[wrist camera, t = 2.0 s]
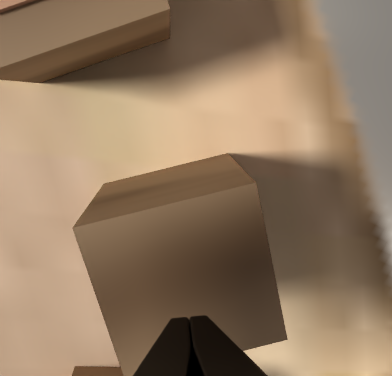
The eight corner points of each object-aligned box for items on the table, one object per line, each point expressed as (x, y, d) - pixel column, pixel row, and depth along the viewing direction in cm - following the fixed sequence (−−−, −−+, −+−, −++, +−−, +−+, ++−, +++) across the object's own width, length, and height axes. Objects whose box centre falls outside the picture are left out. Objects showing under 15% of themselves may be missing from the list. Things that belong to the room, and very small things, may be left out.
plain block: (251, 264, 16) (287, 339, 11) (138, 293, 16) (125, 380, 11) (227, 152, 15) (256, 182, 10) (104, 183, 15) (72, 227, 10)
